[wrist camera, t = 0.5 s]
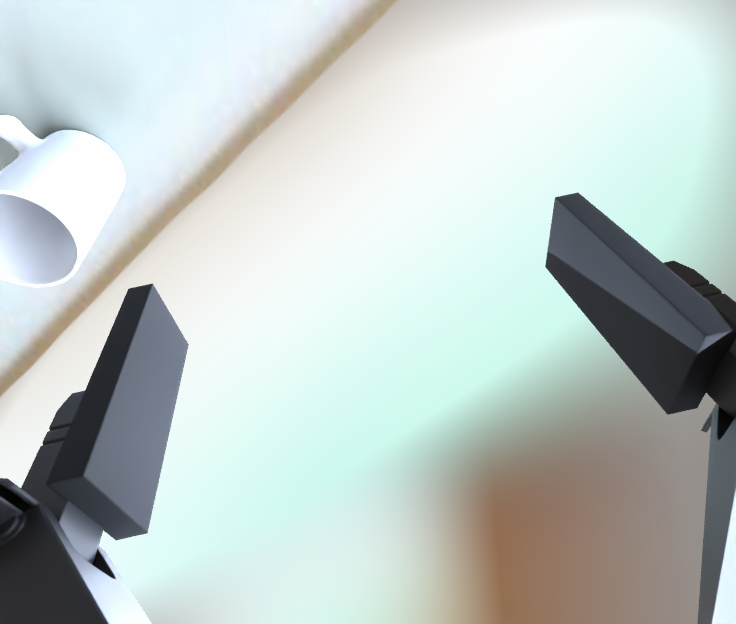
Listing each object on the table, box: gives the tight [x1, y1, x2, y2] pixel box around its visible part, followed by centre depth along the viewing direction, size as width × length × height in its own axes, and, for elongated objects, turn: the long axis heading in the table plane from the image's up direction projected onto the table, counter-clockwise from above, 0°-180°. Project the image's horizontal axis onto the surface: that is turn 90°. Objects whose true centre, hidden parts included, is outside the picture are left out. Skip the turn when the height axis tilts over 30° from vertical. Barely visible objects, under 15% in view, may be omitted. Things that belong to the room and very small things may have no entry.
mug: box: [0, 115, 125, 287], centre depth 31 cm, size 10×7×12 cm, turn 24°
